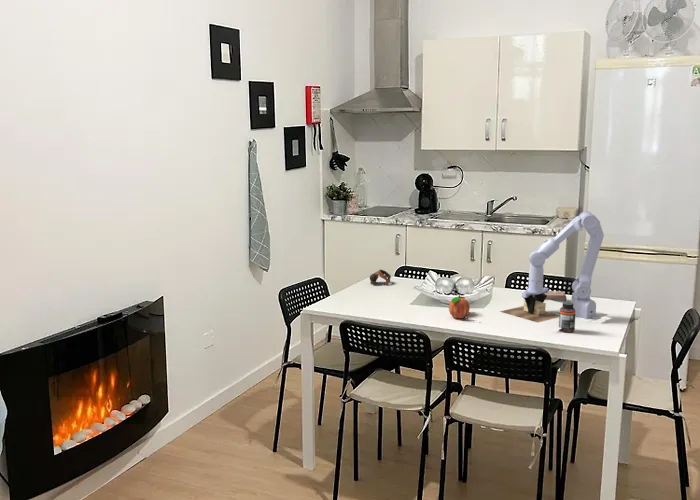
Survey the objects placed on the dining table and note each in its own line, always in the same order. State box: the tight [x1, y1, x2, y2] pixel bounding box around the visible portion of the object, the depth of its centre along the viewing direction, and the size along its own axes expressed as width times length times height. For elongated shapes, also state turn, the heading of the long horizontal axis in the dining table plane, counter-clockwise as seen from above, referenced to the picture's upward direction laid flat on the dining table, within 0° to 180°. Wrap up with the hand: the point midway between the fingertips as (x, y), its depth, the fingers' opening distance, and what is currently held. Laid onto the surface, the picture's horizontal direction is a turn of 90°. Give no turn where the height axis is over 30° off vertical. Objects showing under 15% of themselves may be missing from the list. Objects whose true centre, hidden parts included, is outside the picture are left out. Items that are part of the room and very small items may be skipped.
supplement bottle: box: [558, 301, 576, 334], centre depth 271 cm, size 6×6×11 cm
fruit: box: [448, 293, 470, 319], centre depth 289 cm, size 9×10×10 cm
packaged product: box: [533, 290, 567, 304], centre depth 317 cm, size 18×5×10 cm
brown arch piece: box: [369, 269, 392, 286], centre depth 349 cm, size 12×10×8 cm
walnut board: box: [499, 305, 560, 323], centre depth 291 cm, size 20×16×2 cm
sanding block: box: [523, 300, 547, 315], centre depth 291 cm, size 8×4×5 cm, turn 36°
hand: (534, 311), depth 292 cm, fingers closed on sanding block, 4 cm apart
